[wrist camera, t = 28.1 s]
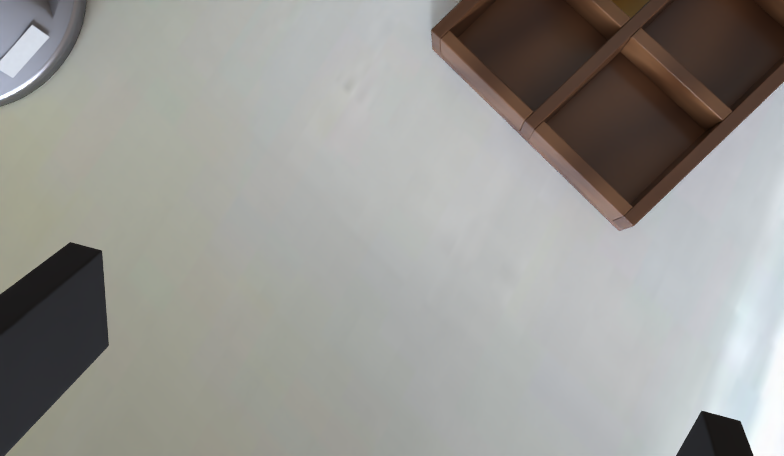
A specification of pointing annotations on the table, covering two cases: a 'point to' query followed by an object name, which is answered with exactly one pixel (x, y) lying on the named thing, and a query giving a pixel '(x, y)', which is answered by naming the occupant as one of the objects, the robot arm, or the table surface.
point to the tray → (618, 83)
